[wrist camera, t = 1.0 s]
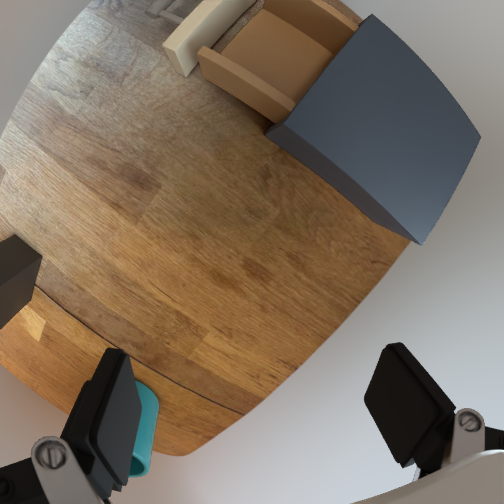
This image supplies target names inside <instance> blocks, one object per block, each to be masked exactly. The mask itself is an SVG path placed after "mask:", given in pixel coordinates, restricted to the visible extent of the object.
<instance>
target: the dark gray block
mask: <svg viewBox="0 0 504 504" xmlns="http://www.w3.org/2000/svg"><path fill="white" fill-rule="evenodd" d="M41 259H42V256H41V255H40V254H38V253H37V252H36V251H35V250H33V249H32V248H31V247H29V246H28V245H27V244H26V243H25V242H23V241H22V240H21V239H20V238H18V237H17V236H16V235H13V236H11V237H9V238H7V239H5V240H3V241H1V242H0V330H1V329H2V328H3V327H4V326H5V325H6V324H7V323H8V322H9V321H10V320H11V319H12V318H13V317H14V316H15V315H16V314H17V313H18V312H19V311H20V310H21V309H22V308H23V307H24V306H25V305H26V304H27V303H29V302H30V301H31V298H32V293H33V289H34V285H35V281H36V277H37V273H38V270H39V266H40V263H41Z"/></svg>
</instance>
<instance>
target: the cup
mask: <svg viewBox="0 0 504 504" xmlns="http://www.w3.org/2000/svg"><path fill="white" fill-rule="evenodd" d="M135 382H136V386H137V390H138V393H139V397H140V400H141V404H142V413H141V418H140V422H139V427H138V431H137V436H136V441H135V445H134V450H133V455H132V460H131V466H130V471H129V477H140V476H144V475H146V474H147V473H148V472H149V468H150V461H151V454H152V448H153V442H154V436H155V430H156V424H157V418H158V413H159V402H158V399H157V397H156V395H155V394H154V393H153V392H152V390H151V389H149V388H148V387H147V386H146V385H144V384H143V383H141V382H139V381H137V380H135Z"/></svg>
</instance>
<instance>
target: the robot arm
mask: <svg viewBox="0 0 504 504" xmlns="http://www.w3.org/2000/svg"><path fill="white" fill-rule="evenodd" d="M364 402H365V404H366V406H367V408H368V410H369V412H370V414H371V416H372V417H373V419H374V421H375V423H376V425H377V427H378V429H379V431H380V432H381V434H382V436H383V438H384V440H385V442H386V443H387V445H388V448H389V449H390V451H391V453H392V455H393V457H394V459H395V461H396V462H397V463H400V465H401V467H402V468H405V467H407V466H410V465H413V464H414V463H416V465H417V468H416V472H415V475H414V479H413V482H411V483H409V484H407V485H404V486H402V487H399V488H397V489H394V490H391V491H389V492H386V493H383V494H380V495H377V496H374V497H372V498H368V499H365V500H362V501H358V502H355V503H352V504H504V431H503V430H498V429H494V428H490V427H486V426H485V423H484V419H483V417H482V416H481V415H480V414H479V413H478V412H477V411H475V410H473V409H469V408H464V409H461V410H459V411H458V412H457V413H456V414H455V413H454V410H455V409H456V407H455V406H454V404H453V403H452V402H451V400H450V399H449V398H448V397H447V395H446V394H445V393H444V392H443V390H442V389H441V388H440V387H439V385H438V384H437V383H436V382H435V381H434V379H433V378H432V377H431V376H430V375H429V374H428V372H427V371H426V370H425V369H424V367H423V366H422V365H421V364H420V363H419V362H418V360H417V359H416V358H415V357H414V356H413V355H412V353H411V352H410V351H409V350H408V349H407V348H406V347H405V345H404V344H403V343H400V342H398V343H392V344H388V345H387V346H386V347H385V348H384V349H383V350H382V352H381V355H380V358H379V361H378V363H377V366H376V369H375V371H374V374H373V376H372V379H371V381H370V384H369V386H368V389H367V391H366V393H365V396H364ZM141 413H142V404H141V400H140V397H139V393H138V390H137V386H136V382H135V378H134V374H133V370H132V366H131V361H130V357H129V355H128V354H125V353H124V350H122V349H115V348H107V349H106V350H105V352H104V354H103V356H102V358H101V360H100V362H99V364H98V366H97V369H96V371H95V373H94V375H93V377H92V379H91V381H89V380H87V381H86V382H85V383H84V385H83V387H82V389H81V391H80V393H79V395H78V397H77V400H76V402H75V404H74V406H73V408H72V411H71V413H70V415H69V418H68V420H67V422H66V424H65V427H64V429H63V431H62V434H61V436H60V438H59V437H55V436H47V437H43V438H41V439H39V440H38V441H37V442H35V444H34V445H33V447H32V450H31V457H30V458H27V459H24V460H22V461H19V462H16V463H13V464H10V465H8V466H4V467H1V468H0V504H113V503H112V502H111V500H110V499H109V497H110V496H111V491H112V490H115V491H119V492H121V489H122V485H123V486H126V485H127V482H128V477H129V471H130V466H131V460H132V455H133V450H134V445H135V441H136V436H137V431H138V427H139V422H140V418H141Z"/></svg>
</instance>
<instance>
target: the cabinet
mask: <svg viewBox="0 0 504 504" xmlns="http://www.w3.org/2000/svg"><path fill="white" fill-rule="evenodd" d="M358 26H359V28H358V29H357V30H356V31H355V32H354V33H353V35H352V36H351V37H350V38H349V39H348V40H347V42H346V43H345V44H344V45H343V46H342V48H341V49H340V50H339V51H338V52H337V54H336V55H335V56H334V57H333V59H332V60H331V61H330V62H329V64H328V65H327V66H326V67H325V68H324V70H323V71H322V72H321V73H320V75H319V76H318V77H317V79H316V80H315V81H314V82H313V84H312V85H311V86H310V87H309V89H308V90H307V91H306V93H305V94H304V95H303V96H302V98H301V99H300V100H299V102H298V103H297V104H296V106H295V107H294V108H293V110H292V111H291V112H290V113H289V115H288V116H287V117H286V118H285V119H283V120H281V121H280V122H278V123H277V124H275V123H274V122H273V124H272V125H271V126H270V128H269V129H268V130H267V132H266V133H265V134H264V136H266V137H267V138H268V139H270V140H271V141H273V142H274V143H276V144H277V145H278V146H280V147H281V148H283V149H284V150H285V151H287V152H288V153H289V154H291V155H292V156H293V157H295V158H296V159H298V160H299V161H300V162H301V163H303V164H304V165H305V166H307V167H308V168H309V169H311V170H312V171H313V172H315V173H316V174H317V175H318V176H320V177H321V178H322V179H323V180H325V181H326V182H327V183H328V184H330V185H331V186H332V187H333V188H335V189H336V190H337V191H338V192H339V193H341V194H342V195H343V196H344V197H345V198H347V199H348V200H349V201H350V202H351V203H353V204H354V205H355V206H356V207H357V208H358V209H360V210H361V211H362V212H363V213H364V214H365V215H366V216H368V217H369V218H370V219H371V220H372V221H373V222H375V223H377V224H379V225H381V226H383V227H385V228H387V229H389V230H391V231H393V232H395V233H397V234H399V235H401V236H403V237H405V238H407V239H409V240H411V241H413V242H415V243H417V244H419V245H421V246H422V245H423V243H424V241H425V240H426V239H427V237H428V235H429V234H430V232H431V231H432V229H433V227H434V226H435V224H436V223H437V221H438V219H439V217H440V216H441V214H442V213H443V211H444V209H445V207H446V206H447V204H448V202H449V200H450V198H451V197H452V195H453V193H454V191H455V190H456V188H457V186H458V184H459V182H460V180H461V178H462V176H463V174H464V172H465V170H466V169H467V166H468V164H469V162H470V160H471V158H472V156H473V154H474V152H475V149H476V148H477V145H478V143H479V141H480V139H481V136H480V134H479V133H478V131H477V130H476V128H475V127H474V125H473V124H472V122H471V121H470V119H469V118H468V116H467V115H466V113H465V112H464V111H463V109H462V108H461V106H460V105H459V104H458V102H457V101H456V100H455V98H454V97H453V96H452V95H451V93H450V92H449V91H448V90H447V88H446V87H445V86H444V85H443V83H442V82H441V81H440V80H439V79H438V77H437V76H436V75H435V74H434V73H433V72H432V71H431V69H430V68H429V67H428V66H427V65H426V64H425V63H424V62H423V61H422V60H421V59H420V58H419V56H418V55H417V54H416V53H415V52H414V51H413V50H412V49H411V48H410V47H409V46H408V45H407V44H406V43H405V42H404V41H402V40H401V39H400V38H399V37H398V36H397V35H396V34H395V33H394V32H393V31H392V30H390V29H389V28H388V27H387V26H386V25H385V24H384V23H382V22H381V21H380V20H379V19H378V18H376V17H375V16H374V15H373V14H371V15H370V16H368V17H367V18H366V19H365V20H364V21H362V22H361V23H360V24H359V25H358Z"/></svg>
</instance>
